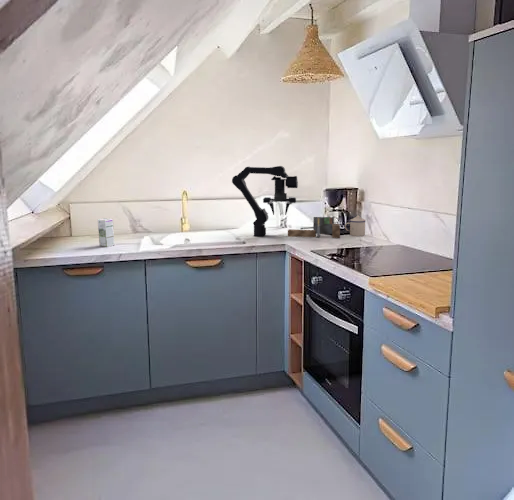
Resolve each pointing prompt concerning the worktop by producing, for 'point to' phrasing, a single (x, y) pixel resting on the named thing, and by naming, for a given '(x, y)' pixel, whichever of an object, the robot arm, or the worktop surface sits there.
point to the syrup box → (106, 232)
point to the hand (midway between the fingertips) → (279, 215)
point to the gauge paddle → (318, 229)
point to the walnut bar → (301, 233)
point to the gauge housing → (327, 226)
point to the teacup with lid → (357, 226)
